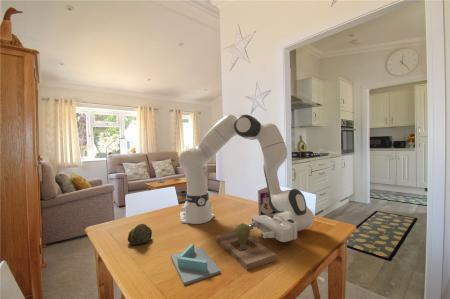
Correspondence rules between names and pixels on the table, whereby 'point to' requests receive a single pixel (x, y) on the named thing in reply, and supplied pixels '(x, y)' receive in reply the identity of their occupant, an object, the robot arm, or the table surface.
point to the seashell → (140, 234)
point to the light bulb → (243, 235)
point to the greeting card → (264, 203)
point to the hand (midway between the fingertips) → (255, 231)
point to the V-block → (194, 264)
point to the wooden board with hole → (246, 251)
